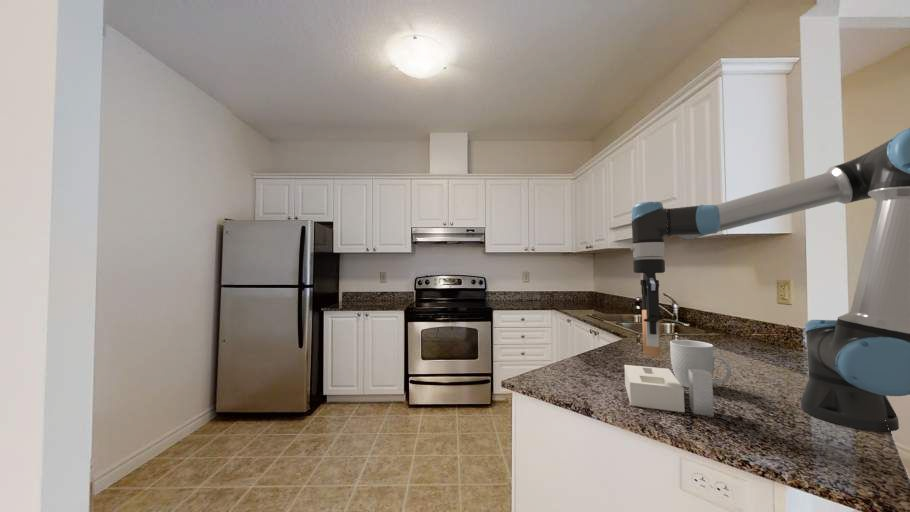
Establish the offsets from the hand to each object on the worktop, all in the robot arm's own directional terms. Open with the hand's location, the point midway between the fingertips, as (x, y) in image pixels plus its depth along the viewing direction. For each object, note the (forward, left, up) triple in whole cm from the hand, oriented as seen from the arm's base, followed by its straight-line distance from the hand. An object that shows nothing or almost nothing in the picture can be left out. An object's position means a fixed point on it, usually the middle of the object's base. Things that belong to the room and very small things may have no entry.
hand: (651, 344), depth 90 cm
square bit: (-10, +3, -16) cm, 19 cm away
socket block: (0, -4, -16) cm, 16 cm away
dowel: (0, 0, -3) cm, 3 cm away
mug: (-14, -19, -16) cm, 28 cm away
